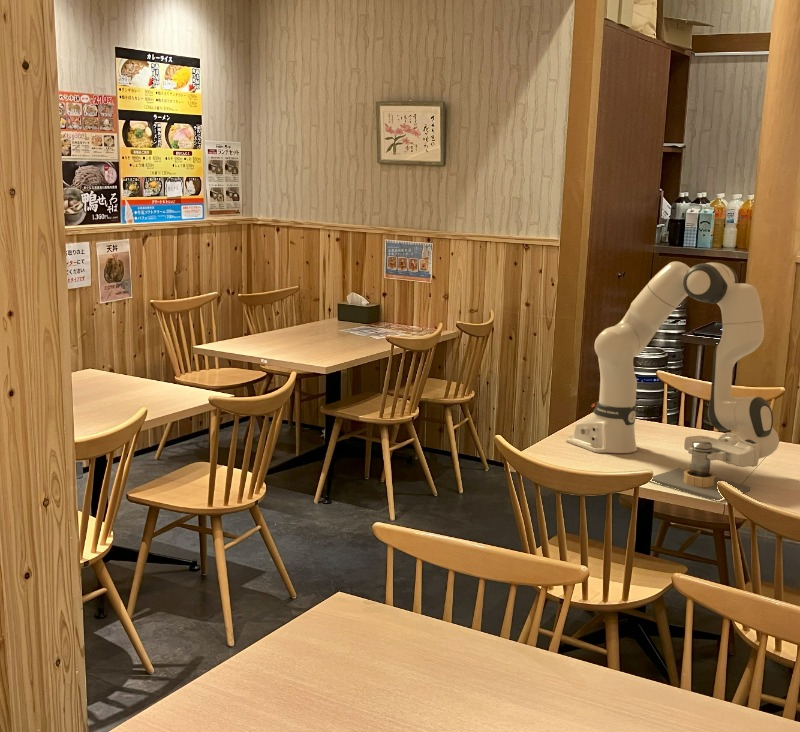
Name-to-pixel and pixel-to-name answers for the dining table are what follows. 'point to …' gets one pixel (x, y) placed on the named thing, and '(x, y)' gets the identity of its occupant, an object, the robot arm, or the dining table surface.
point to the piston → (700, 459)
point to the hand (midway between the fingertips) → (699, 453)
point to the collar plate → (694, 483)
